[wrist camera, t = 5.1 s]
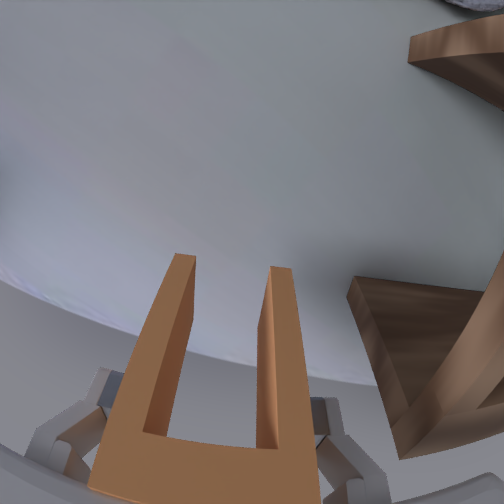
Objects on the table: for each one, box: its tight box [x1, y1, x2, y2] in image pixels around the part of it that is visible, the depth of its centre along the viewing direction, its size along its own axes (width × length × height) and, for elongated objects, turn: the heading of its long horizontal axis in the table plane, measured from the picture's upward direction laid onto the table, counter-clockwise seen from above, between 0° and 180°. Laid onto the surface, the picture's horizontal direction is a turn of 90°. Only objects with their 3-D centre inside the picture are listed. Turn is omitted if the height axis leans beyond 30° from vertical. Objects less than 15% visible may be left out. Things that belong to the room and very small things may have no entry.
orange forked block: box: [87, 253, 321, 504], centre depth 11 cm, size 4×6×11 cm
